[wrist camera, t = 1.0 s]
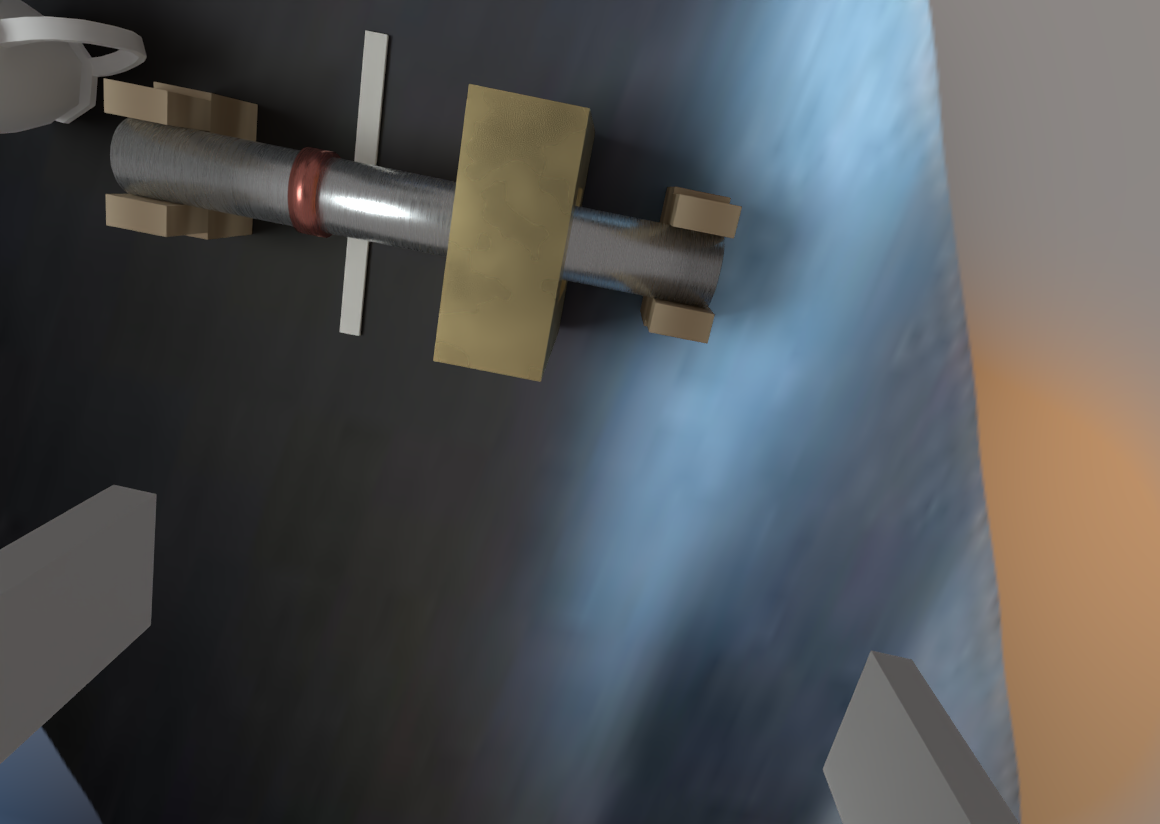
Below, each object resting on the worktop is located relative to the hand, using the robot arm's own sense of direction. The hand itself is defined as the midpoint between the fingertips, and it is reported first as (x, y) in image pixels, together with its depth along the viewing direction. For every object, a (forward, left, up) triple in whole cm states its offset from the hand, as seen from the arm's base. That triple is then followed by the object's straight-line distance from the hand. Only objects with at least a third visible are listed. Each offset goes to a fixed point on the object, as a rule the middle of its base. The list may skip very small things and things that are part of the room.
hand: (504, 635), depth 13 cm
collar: (-6, -3, -24) cm, 25 cm away
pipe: (-6, -7, -20) cm, 22 cm away
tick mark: (-6, -11, -24) cm, 27 cm away
